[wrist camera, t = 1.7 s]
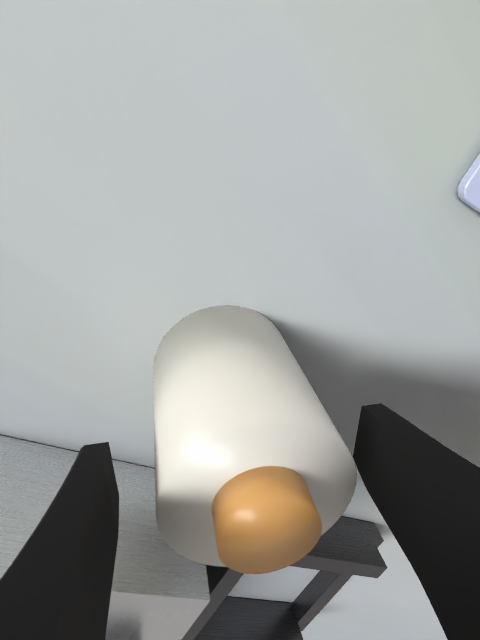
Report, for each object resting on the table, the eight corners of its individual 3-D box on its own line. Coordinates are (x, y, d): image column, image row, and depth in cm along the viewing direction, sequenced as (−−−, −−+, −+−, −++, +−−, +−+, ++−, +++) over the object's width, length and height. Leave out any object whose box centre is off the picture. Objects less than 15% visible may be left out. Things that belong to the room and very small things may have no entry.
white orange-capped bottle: (310, 333, 15) (418, 484, 9) (247, 431, 17) (303, 613, 11) (189, 283, 13) (223, 430, 7) (132, 398, 15) (120, 597, 9)
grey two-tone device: (379, 517, 21) (456, 655, 16) (292, 616, 24) (333, 761, 19) (-115, 410, 13) (-299, 618, 8) (-156, 579, 16) (-310, 816, 11)
